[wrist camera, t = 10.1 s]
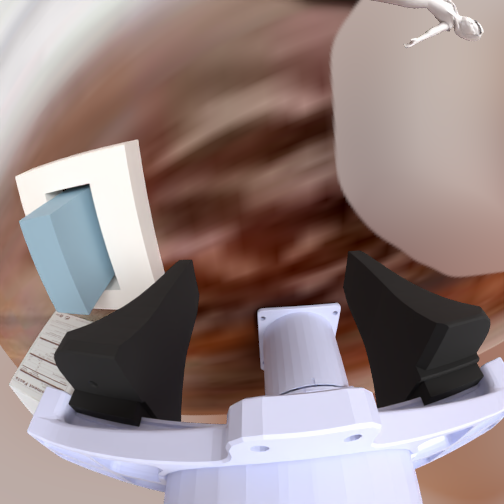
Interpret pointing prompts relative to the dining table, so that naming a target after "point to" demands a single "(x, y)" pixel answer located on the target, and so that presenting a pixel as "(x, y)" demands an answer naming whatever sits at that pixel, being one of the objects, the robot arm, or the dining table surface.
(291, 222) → the dining table surface
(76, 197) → the block
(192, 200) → the dining table surface
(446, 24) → the woman figurine
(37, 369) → the supplement box
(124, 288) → the white rectangular frame
